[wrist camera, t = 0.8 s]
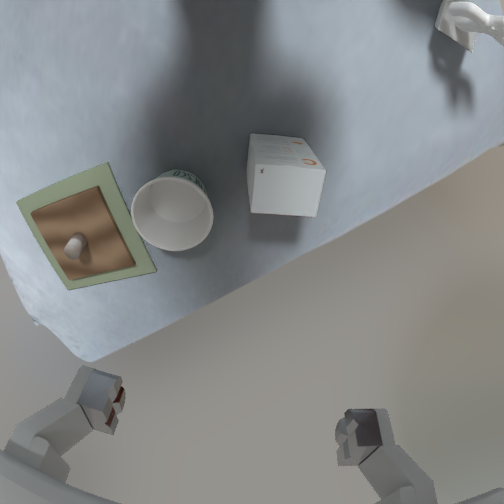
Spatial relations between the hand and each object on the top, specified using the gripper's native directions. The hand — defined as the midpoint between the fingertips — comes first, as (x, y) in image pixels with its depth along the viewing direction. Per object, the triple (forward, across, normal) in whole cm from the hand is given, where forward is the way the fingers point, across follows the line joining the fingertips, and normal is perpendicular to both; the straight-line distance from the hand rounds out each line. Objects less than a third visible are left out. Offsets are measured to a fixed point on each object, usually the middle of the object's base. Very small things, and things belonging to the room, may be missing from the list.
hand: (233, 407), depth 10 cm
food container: (+40, +12, +9) cm, 43 cm away
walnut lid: (+38, +30, +18) cm, 52 cm away
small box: (+41, -2, +1) cm, 41 cm away
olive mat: (+39, +30, +18) cm, 52 cm away
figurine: (+41, -25, -29) cm, 56 cm away
